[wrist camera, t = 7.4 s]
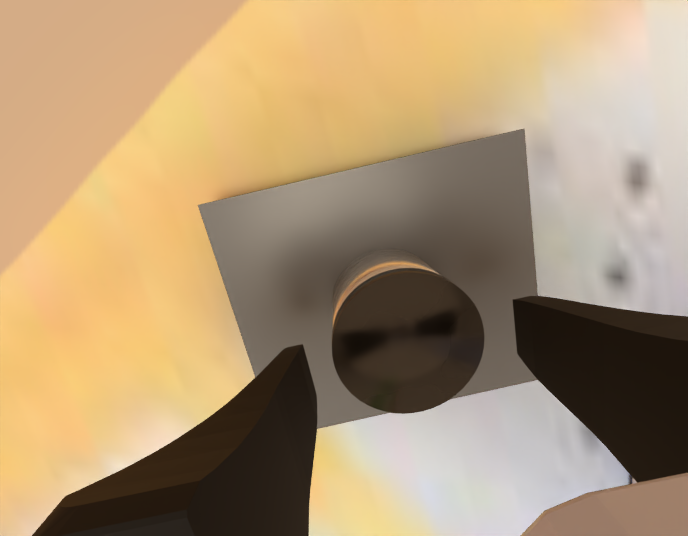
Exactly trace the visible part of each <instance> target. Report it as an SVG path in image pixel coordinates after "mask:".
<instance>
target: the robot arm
mask: <svg viewBox="0 0 688 536" xmlns="http://www.w3.org/2000/svg"><path fill="white" fill-rule="evenodd" d="M513 311H514V323H515V334H516V346H517V354H518V356H519V357H520V358H521V360H522V361H523V362H524V364H525V365H526V366H527V367H528V369H529V370H530V371H531V372H532V374H533V375H534V376H535V377H536V378H537V379H538V380H539V381H540V382H541V383H542V384H543V385H544V386H545V387H546V388H547V389H548V390H549V391H550V392H551V393H552V394H553V395H554V396H555V397H556V398H557V399H558V400H559V401H560V402H561V403H562V404H563V405H564V406H565V407H567V408H568V409H569V410H570V411H571V412H572V413H573V414H574V415H575V416H576V417H577V418H578V419H579V420H580V421H581V422H582V423H583V424H584V425H585V426H586V427H587V428H588V429H590V430H591V431H592V432H593V433H594V434H595V436H596V437H597V438H598V439H599V440H600V441H601V442H602V443H603V444H604V445H605V446H606V447H607V448H608V449H609V450H610V452H611V453H612V454H613V455H614V456H615V457H616V459H617V460H618V461H619V462H620V463H621V464H622V465H623V467H624V468H625V469H626V470H627V471H628V472H629V473H630V475H631V476H632V484H629V485H624V486H619V487H614V488H609V489H605V490H600V491H595V492H590V493H586V494H584V495H581V496H579V497H576V498H574V499H572V500H569V501H567V502H564V503H562V504H560V505H557V506H555V507H552V508H550V509H548V510H545V511H544V512H543V513H542V514H541V515H540V516H539V517H538V518H537V519H536V520H535V521H534V522H533V523H532V524H531V525H530V526H529V527H528V528H527V530H526V531H525V532H524V533H523V534H522V535H521V536H688V317H686V316H674V315H662V314H653V313H645V312H638V311H630V310H623V309H616V308H610V307H604V306H598V305H592V304H586V303H580V302H575V301H569V300H563V299H557V298H550V297H542V296H527V297H523V298H518V299H513ZM316 432H317V394H316V391H315V387H314V383H313V379H312V376H311V372H310V368H309V364H308V361H307V357H306V353H305V349H304V346H303V344H301V345H296V346H291V347H287V348H285V349H283V350H282V351H281V352H280V353H279V354H278V355H277V356H276V357H275V358H274V359H273V360H272V361H271V362H270V363H269V364H268V365H267V366H266V367H265V368H264V369H263V370H262V372H261V373H260V374H259V375H258V376H257V377H256V378H255V379H254V380H252V381H251V382H250V383H249V384H248V385H247V386H246V387H245V388H244V389H243V390H242V391H241V392H240V393H238V394H237V395H236V396H235V397H234V398H233V399H232V400H231V401H229V402H228V403H227V404H226V405H224V406H223V407H222V408H221V409H219V410H218V411H217V412H215V413H214V414H213V415H211V416H210V417H209V418H207V419H206V420H205V421H203V422H202V423H200V424H199V425H197V426H196V427H194V428H193V429H191V430H190V431H188V432H187V433H185V434H184V435H182V436H181V437H179V438H178V439H176V440H175V441H173V442H171V443H170V444H168V445H166V446H164V447H163V448H161V449H159V450H158V451H156V452H154V453H152V454H151V455H149V456H147V457H145V458H143V459H141V460H140V461H138V462H136V463H134V464H132V465H130V466H128V467H126V468H124V469H122V470H120V471H118V472H116V473H114V474H112V475H110V476H108V477H106V478H104V479H102V480H99V481H97V482H95V483H93V484H91V485H89V486H87V487H85V488H83V489H80V490H78V491H76V492H74V493H72V494H69V495H67V496H66V497H64V498H63V499H62V501H61V502H60V503H59V504H58V505H57V507H56V508H55V509H54V510H53V511H52V513H51V514H50V515H49V516H48V517H47V519H46V520H45V521H44V522H43V523H42V524H41V526H40V527H39V528H38V529H37V530H36V532H35V533H34V534H33V535H32V536H308V533H309V498H310V486H311V477H312V468H313V460H314V451H315V442H316Z"/></svg>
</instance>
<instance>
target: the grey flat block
mask: <svg viewBox="0 0 688 536" xmlns="http://www.w3.org/2000/svg"><path fill="white" fill-rule="evenodd" d="M198 207H199V210H200V213H201V216H202V219H203V222H204V225H205V228H206V231H207V234H208V237H209V240H210V243H211V246H212V249H213V252H214V255H215V258H216V261H217V264H218V267H219V270H220V273H221V276H222V279H223V282H224V285H225V288H226V291H227V294H228V297H229V300H230V303H231V306H232V309H233V312H234V315H235V318H236V321H237V324H238V327H239V330H240V333H241V336H242V339H243V342H244V345H245V348H246V351H247V354H248V357H249V360H250V362H251V365H252V368H253V371H254V374H255V377H257V376H258V375H259V374H260V373H261V372H262V370H263V369H264V368H265V367H266V366H267V365H268V364H269V363H270V362H271V361H272V360H273V359H274V358H275V357H276V356H277V355H278V354H279V353H280V352H281V351H282V350H283V349H285V348H287V347H291V346H296V345H301V344H303V346H304V349H305V353H306V357H307V361H308V364H309V368H310V372H311V376H312V379H313V383H314V387H315V391H316V394H317V429H318V428H323V427H327V426H332V425H336V424H341V423H345V422H350V421H354V420H359V419H363V418H368V417H372V416H377V415H381V414H386V413H390V412H385V411H382V410H378V409H375V408H373V407H371V406H368V405H366V404H365V403H363V402H361V401H360V400H358V399H357V398H356V397H355V396H353V395H352V394H351V393H350V392H349V391H348V390H347V389H346V387H345V386H344V385H343V383H342V382H341V380H340V378H339V376H338V374H337V372H336V369H335V366H334V362H333V357H332V329H333V318H332V296H333V291H334V287H335V285H336V282H337V280H338V278H339V276H340V275H341V273H342V272H343V270H344V269H345V268H346V267H347V266H348V265H349V264H350V263H351V262H352V261H354V260H355V259H357V258H358V257H360V256H361V255H364V254H366V253H368V252H371V251H374V250H379V249H398V250H403V251H406V252H409V253H411V254H413V255H415V256H417V257H418V258H420V259H421V260H423V261H424V262H425V263H426V264H428V265H429V266H430V267H431V268H433V269H434V270H435V271H436V272H438V273H439V274H440V275H441V276H443V277H445V278H447V279H448V280H450V281H451V282H452V283H454V284H455V285H456V286H458V287H459V288H460V289H461V290H463V291H464V292H465V293H466V294H467V295H468V296H469V298H470V299H471V300H472V301H473V303H474V304H475V306H476V308H477V309H478V311H479V314H480V316H481V319H482V323H483V327H484V337H485V339H484V349H483V354H482V358H481V361H480V363H479V366H478V368H477V370H476V372H475V374H474V375H473V376H472V378H471V379H470V381H469V382H468V383H467V384H466V385H465V387H464V388H463V389H462V390H461V391H459V392H458V393H457V394H456V395H455V396H453V397H452V398H451V399H453V398H458V397H462V396H467V395H471V394H476V393H480V392H485V391H489V390H494V389H498V388H503V387H507V386H512V385H516V384H521V383H525V382H530V381H534V380H538V379H537V378H536V377H535V376H534V375H533V374H532V372H531V371H530V370H529V369H528V367H527V366H526V365H525V364H524V362H523V361H522V360H521V358H520V357H519V356H518V354H517V346H516V334H515V323H514V311H513V299H518V298H523V297H527V296H538V295H537V283H536V270H535V257H534V245H533V232H532V220H531V207H530V194H529V182H528V169H527V157H526V144H525V131H524V129H521V130H516V131H512V132H508V133H503V134H499V135H495V136H491V137H486V138H482V139H478V140H474V141H469V142H465V143H461V144H457V145H452V146H448V147H444V148H439V149H435V150H431V151H427V152H422V153H418V154H414V155H410V156H405V157H401V158H397V159H393V160H388V161H384V162H380V163H375V164H371V165H367V166H363V167H358V168H354V169H350V170H346V171H341V172H337V173H333V174H329V175H324V176H320V177H316V178H311V179H307V180H303V181H299V182H294V183H290V184H286V185H282V186H277V187H273V188H269V189H265V190H260V191H256V192H252V193H247V194H243V195H239V196H235V197H230V198H226V199H222V200H218V201H213V202H209V203H205V204H201V205H198Z"/></svg>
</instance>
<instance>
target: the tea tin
mask: <svg viewBox="0 0 688 536" xmlns="http://www.w3.org/2000/svg"><path fill="white" fill-rule="evenodd" d="M332 318H333V329H332V357H333V362H334V366H335V369H336V372H337V374H338V376H339V378H340V380H341V382H342V383H343V385H344V386H345V387H346V389H347V390H348V391H349V392H350V393H351V394H352V395H353V396H355V397H356V398H357V399H358V400H360V401H361V402H363V403H365V404H366V405H368V406H371V407H373V408H375V409H378V410H382V411H385V412H391V413H415V412H420V411H424V410H428V409H431V408H433V407H436V406H438V405H440V404H442V403H444V402H446V401H448V400H449V399H451V398H452V397H453V396H455V395H456V394H457V393H458V392H459V391H461V390H462V389H463V388H464V387H465V385H466V384H467V383H468V382H469V381H470V379H471V378H472V376H473V375H474V374H475V372H476V370H477V368H478V366H479V363H480V361H481V358H482V354H483V349H484V339H485V337H484V327H483V323H482V319H481V316H480V314H479V311H478V309H477V308H476V306H475V304H474V303H473V301H472V300H471V299H470V298H469V296H468V295H467V294H466V293H465V292H464V291H463V290H461V289H460V288H459V287H458V286H456V285H455V284H454V283H452V282H451V281H450V280H448V279H447V278H445V277H443V276H441V275H440V274H439V273H438V272H436V271H435V270H434V269H433V268H431V267H430V266H429V265H428V264H426V263H425V262H424V261H423V260H421V259H420V258H418V257H417V256H415V255H413V254H411V253H409V252H406V251H403V250H398V249H379V250H374V251H371V252H368V253H366V254H364V255H361V256H360V257H358V258H357V259H355V260H354V261H352V262H351V263H350V264H349V265H348V266H347V267H346V268H345V269H344V270H343V272H342V273H341V275H340V276H339V278H338V280H337V282H336V285H335V287H334V291H333V296H332Z"/></svg>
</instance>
